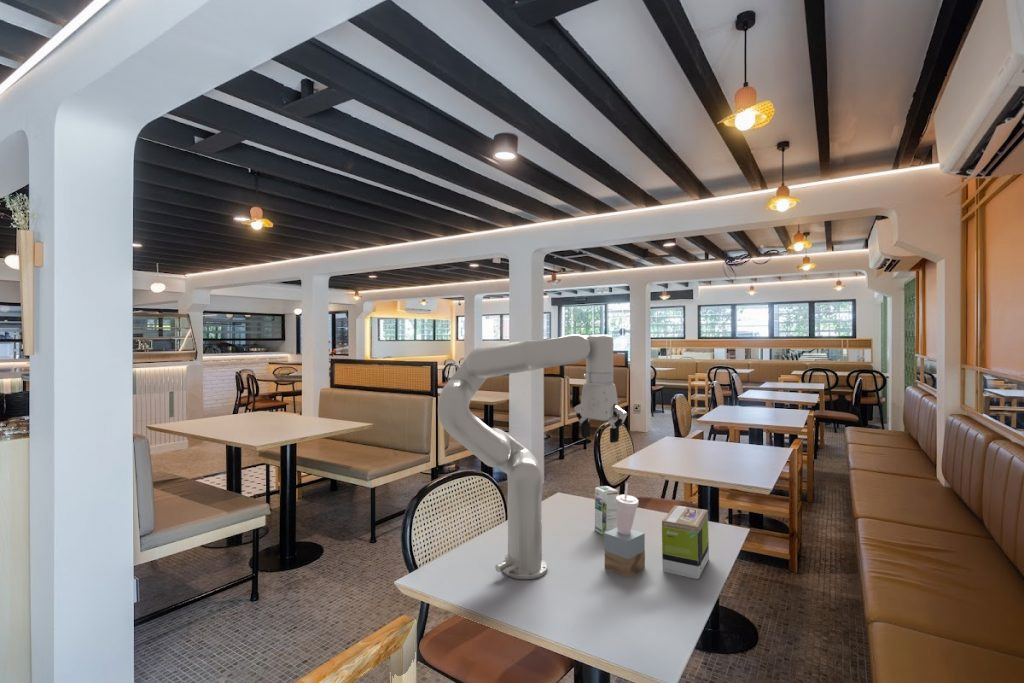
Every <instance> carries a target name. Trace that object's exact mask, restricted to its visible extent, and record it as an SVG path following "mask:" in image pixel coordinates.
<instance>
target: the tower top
mask: <svg viewBox="0 0 1024 683" xmlns="http://www.w3.org/2000/svg"><path fill="white" fill-rule="evenodd" d="M645 534H646V533H644V532H641V531H639V530H636V529H633V528H632V529H631V533H630V534H629V535H623V534H620V533H619V532H618V531H617V527H616V528H614V529H612V530H609V531H607V532H605V533H604V536H603V551H604V552H605V551H607V552H610V553H612V554H615V555H618V556H620V557H623V558H626V559H630V558H632V557H634V556H636V555H638V554H640V553H642V552H644V551H645V549H646V548H645V547H646V546H645V540H646V539H645ZM645 552H646V551H645Z"/></svg>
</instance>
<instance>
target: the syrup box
mask: <svg viewBox="0 0 1024 683" xmlns="http://www.w3.org/2000/svg"><path fill="white" fill-rule="evenodd" d="M618 495H619V490H618V489H616V488H613V487H611V486H608V485H604V486H603V485H601V486H598V487H597V486H596V487H595V488H594V531H595V530H596V532H597V533H599V534H600V535H602V536H603V537H604V533H605V532H607V531H609V530H612V529H614V528H616V527H617V504H616V502H615V500H616V496H618Z"/></svg>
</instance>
